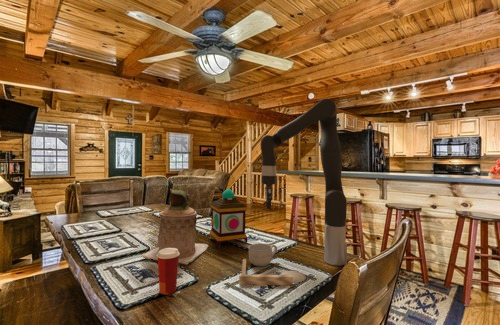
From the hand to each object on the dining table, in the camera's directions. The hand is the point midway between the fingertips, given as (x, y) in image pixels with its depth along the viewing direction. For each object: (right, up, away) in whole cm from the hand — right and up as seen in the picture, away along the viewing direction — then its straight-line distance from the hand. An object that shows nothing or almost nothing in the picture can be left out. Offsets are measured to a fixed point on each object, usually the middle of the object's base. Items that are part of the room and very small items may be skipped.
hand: (268, 207), depth 129 cm
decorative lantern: (-22, -22, +16) cm, 35 cm away
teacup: (-3, -23, -15) cm, 27 cm away
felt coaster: (+8, -23, -28) cm, 37 cm away
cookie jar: (-45, -22, -4) cm, 51 cm away
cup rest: (-3, -22, -26) cm, 34 cm away
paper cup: (-38, -22, -40) cm, 60 cm away
